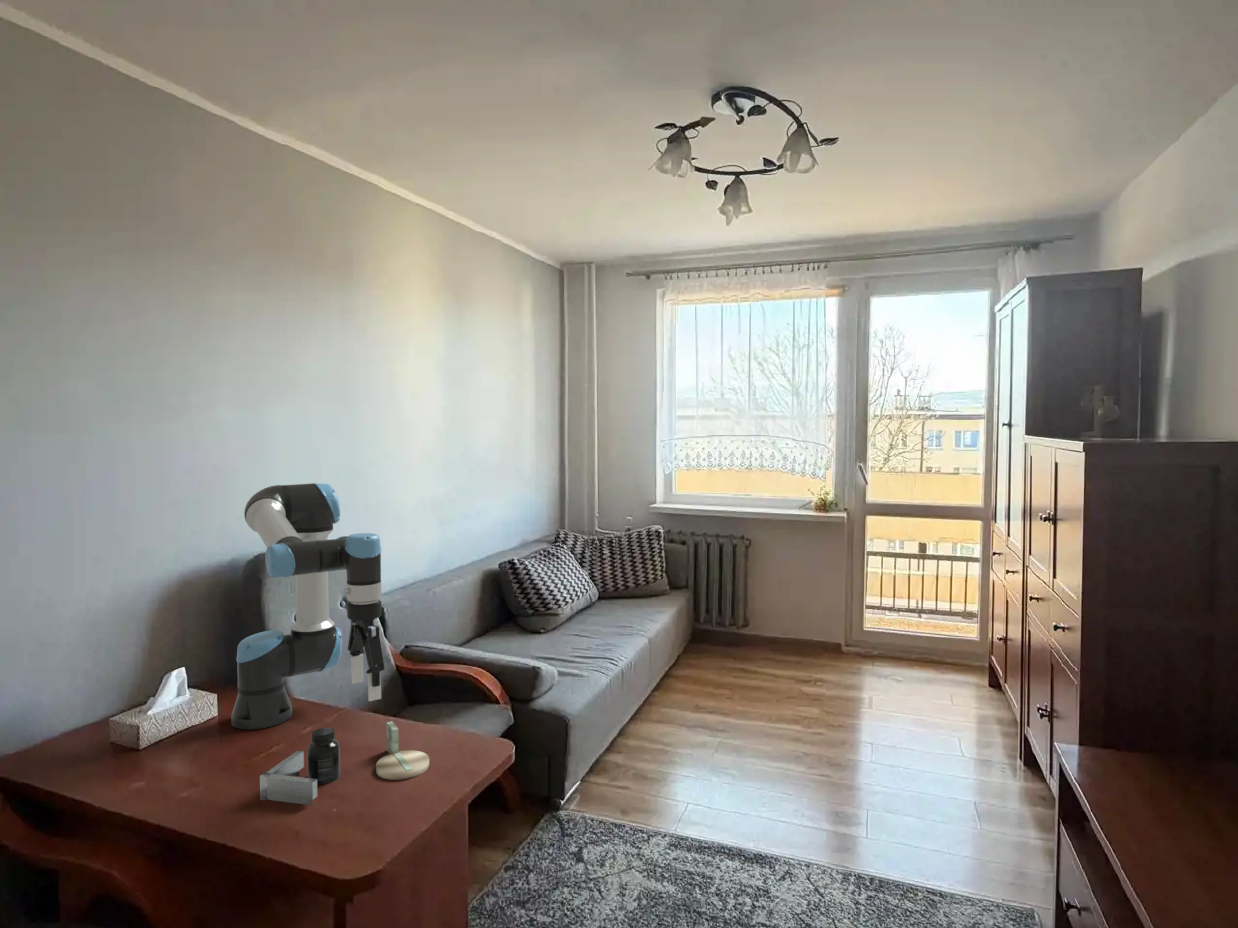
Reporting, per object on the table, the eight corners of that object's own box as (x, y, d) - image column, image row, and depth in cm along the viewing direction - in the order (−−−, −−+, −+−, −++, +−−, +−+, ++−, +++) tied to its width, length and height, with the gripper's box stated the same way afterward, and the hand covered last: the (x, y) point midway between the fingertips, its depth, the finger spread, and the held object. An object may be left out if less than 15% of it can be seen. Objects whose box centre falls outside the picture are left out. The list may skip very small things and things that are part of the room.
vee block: (254, 781, 165) (254, 760, 165) (303, 769, 170) (302, 749, 170) (266, 817, 150) (265, 794, 149) (318, 803, 155) (318, 781, 155)
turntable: (364, 755, 175) (364, 727, 175) (413, 743, 182) (413, 716, 181) (384, 784, 161) (383, 754, 161) (436, 770, 168) (436, 741, 167)
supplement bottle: (345, 776, 168) (345, 725, 167) (331, 791, 161) (330, 738, 160) (317, 774, 168) (316, 724, 168) (301, 789, 162) (300, 737, 161)
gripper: (333, 592, 175) (335, 678, 176) (363, 614, 155) (365, 711, 156) (365, 588, 179) (366, 672, 180) (398, 609, 159) (399, 703, 160)
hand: (365, 690), depth 168 cm, fingers open, 13 cm apart
